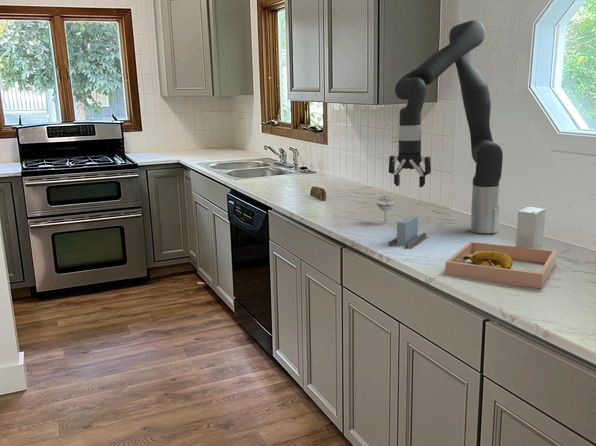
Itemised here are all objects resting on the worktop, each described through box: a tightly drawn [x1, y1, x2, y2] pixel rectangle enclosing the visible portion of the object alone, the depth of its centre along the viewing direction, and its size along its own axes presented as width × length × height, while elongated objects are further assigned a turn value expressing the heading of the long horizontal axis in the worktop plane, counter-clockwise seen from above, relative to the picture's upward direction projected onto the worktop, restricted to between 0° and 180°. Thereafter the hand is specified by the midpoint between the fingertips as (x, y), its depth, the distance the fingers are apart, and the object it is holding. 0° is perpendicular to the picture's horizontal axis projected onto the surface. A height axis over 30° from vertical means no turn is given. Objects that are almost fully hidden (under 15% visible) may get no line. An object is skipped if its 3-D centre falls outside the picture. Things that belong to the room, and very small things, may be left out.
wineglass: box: [376, 195, 395, 225], centre depth 224 cm, size 7×7×12 cm
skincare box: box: [515, 206, 546, 249], centre depth 182 cm, size 8×6×15 cm
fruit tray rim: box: [444, 241, 558, 289], centre depth 169 cm, size 26×26×4 cm
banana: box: [462, 251, 514, 269], centre depth 167 cm, size 15×19×6 cm
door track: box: [388, 232, 429, 250], centre depth 199 cm, size 9×18×2 cm, turn 149°
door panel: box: [396, 215, 419, 247], centre depth 198 cm, size 3×12×8 cm, turn 148°
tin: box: [309, 186, 327, 202], centre depth 277 cm, size 15×3×8 cm, turn 19°
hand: (409, 186), depth 196 cm, fingers open, 8 cm apart
